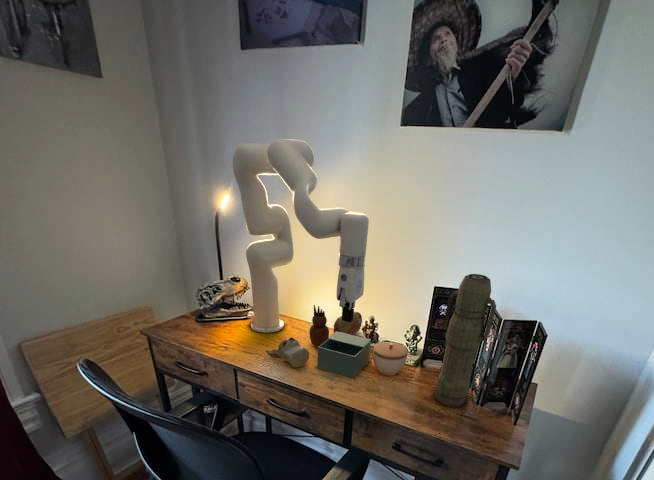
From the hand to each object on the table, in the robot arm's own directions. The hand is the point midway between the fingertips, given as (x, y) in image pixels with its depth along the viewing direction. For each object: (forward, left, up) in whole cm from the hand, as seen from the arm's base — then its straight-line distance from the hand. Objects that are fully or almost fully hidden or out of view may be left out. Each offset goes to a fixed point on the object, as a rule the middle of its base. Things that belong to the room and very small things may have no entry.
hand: (347, 320), depth 117 cm
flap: (+1, +1, -7) cm, 7 cm away
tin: (-9, +20, -15) cm, 26 cm away
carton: (+1, -2, -15) cm, 15 cm away
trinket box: (+15, +2, -15) cm, 21 cm away
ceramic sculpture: (-15, -9, -15) cm, 23 cm away
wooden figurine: (-13, +7, -15) cm, 21 cm away
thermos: (+36, -4, -15) cm, 39 cm away
